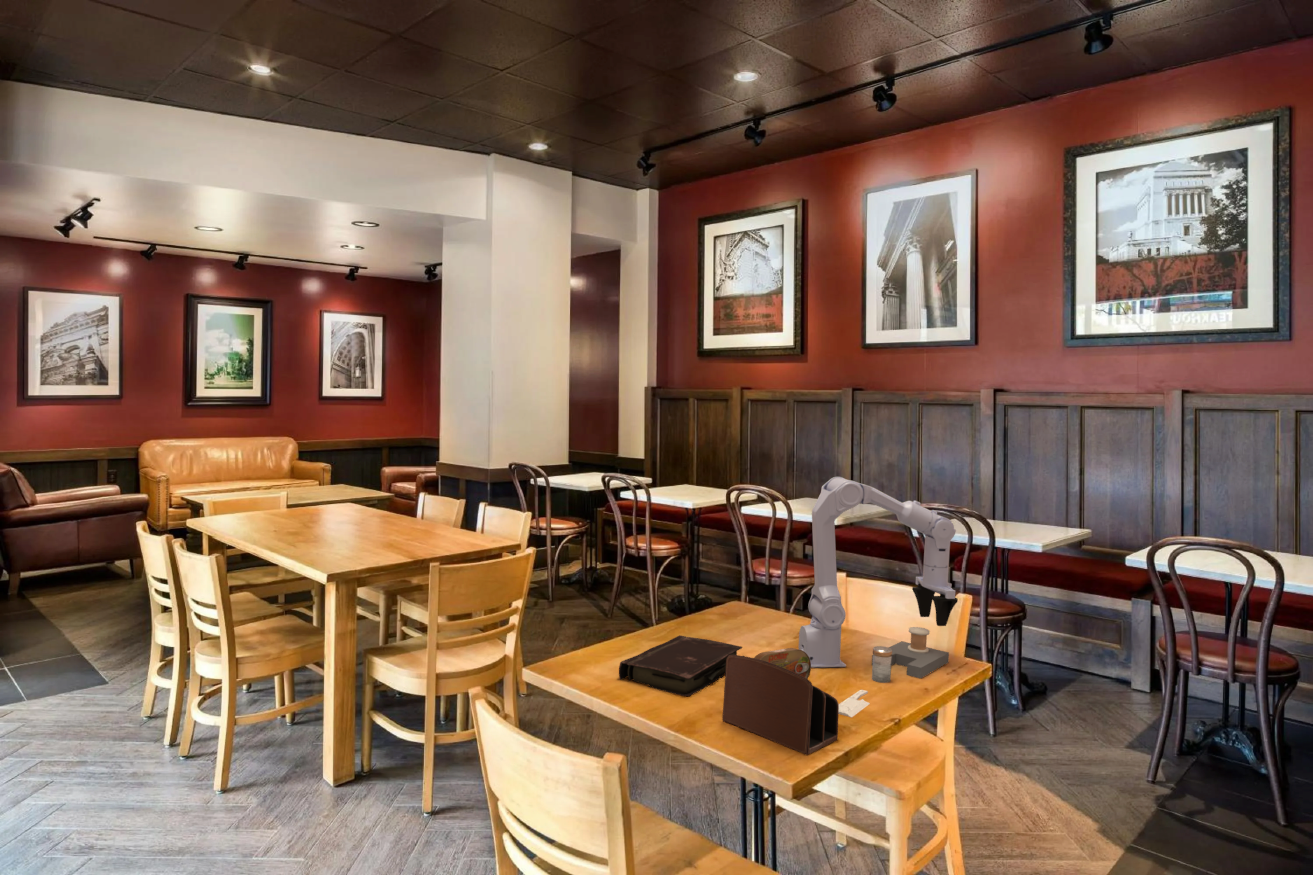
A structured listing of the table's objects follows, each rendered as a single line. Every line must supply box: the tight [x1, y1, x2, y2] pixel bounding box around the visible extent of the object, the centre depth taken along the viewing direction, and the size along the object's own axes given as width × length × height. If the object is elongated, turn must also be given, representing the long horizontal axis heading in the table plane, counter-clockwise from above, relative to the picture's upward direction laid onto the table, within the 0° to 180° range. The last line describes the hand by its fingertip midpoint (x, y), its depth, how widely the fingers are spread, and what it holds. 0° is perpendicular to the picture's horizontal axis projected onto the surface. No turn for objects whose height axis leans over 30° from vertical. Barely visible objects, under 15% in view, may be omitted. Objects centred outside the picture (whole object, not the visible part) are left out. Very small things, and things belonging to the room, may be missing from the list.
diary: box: [618, 635, 743, 697], centre depth 183 cm, size 19×25×5 cm
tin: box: [753, 647, 812, 680], centre depth 175 cm, size 15×3×8 cm, turn 117°
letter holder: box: [721, 654, 840, 756], centre depth 152 cm, size 10×20×14 cm, turn 45°
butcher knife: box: [838, 689, 871, 718], centre depth 167 cm, size 5×15×1 cm, turn 143°
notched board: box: [871, 626, 950, 679], centre depth 193 cm, size 16×12×8 cm
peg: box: [871, 645, 892, 684], centre depth 182 cm, size 4×4×7 cm
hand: (932, 621), depth 195 cm, fingers open, 7 cm apart
